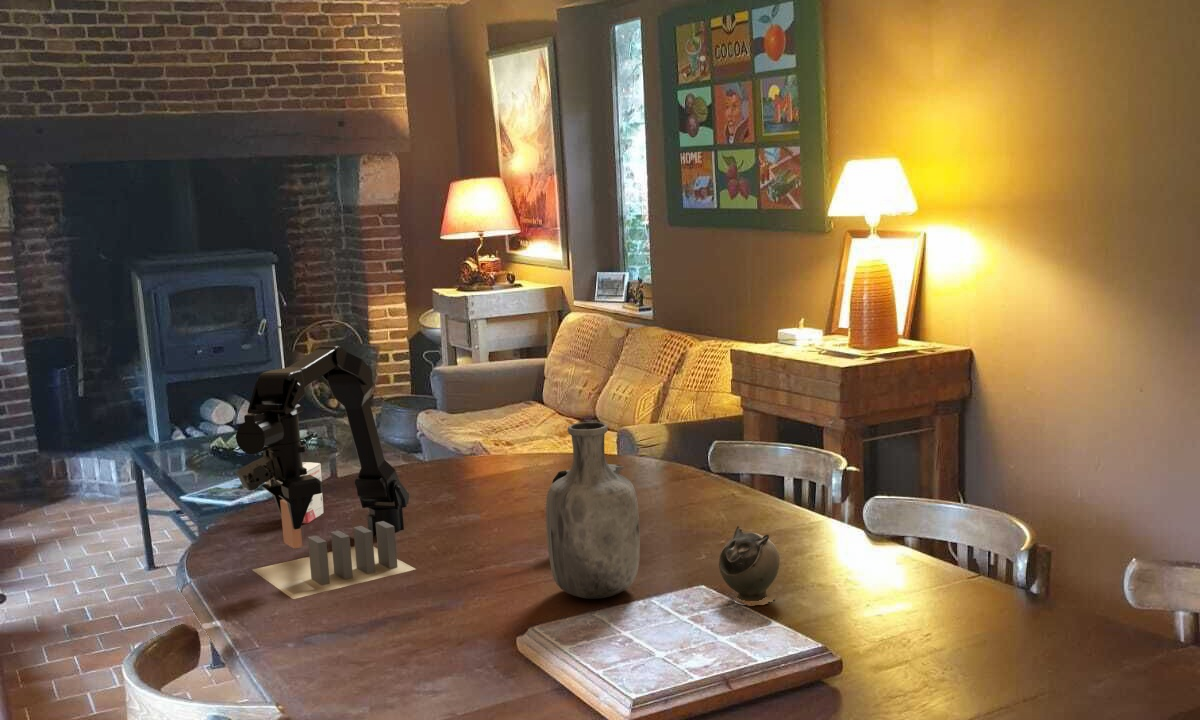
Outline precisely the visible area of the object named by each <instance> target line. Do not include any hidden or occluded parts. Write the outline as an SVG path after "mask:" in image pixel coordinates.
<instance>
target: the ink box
mask: <svg viewBox="0 0 1200 720" xmlns="http://www.w3.org/2000/svg"><path fill="white" fill-rule="evenodd" d="M302 465H303V467H304V468H306V469H307V474H305V475H311V476H313V477H316V478H317V479H319V480H320V481H321V482H322V480H323V479H322V467H321V466H322V465H321V463H320V462H311V461H310V462H309V461H308V462H307V461H306V462H305V461H302ZM305 475H300V476H305ZM322 483H323V482H322ZM323 514H324V498H323V492H322V493H320V494H315V495H313V497H312V500H311V502H310V504H309V506H308V509H307V511H306V514H305V517H304V519H303V522H302V524H309V523H311V522H312V521H314V520H315V519H317V518H318V517H320V516H322V515H323Z"/></svg>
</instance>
